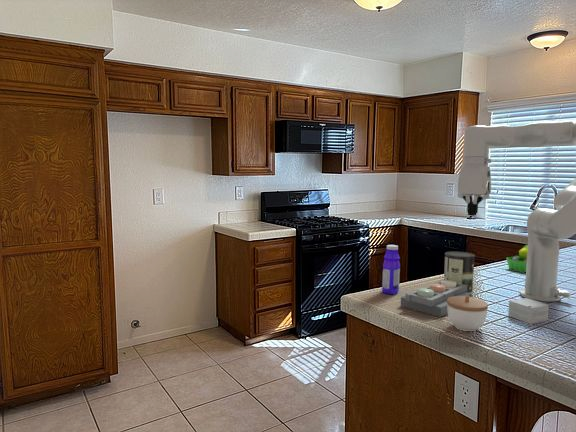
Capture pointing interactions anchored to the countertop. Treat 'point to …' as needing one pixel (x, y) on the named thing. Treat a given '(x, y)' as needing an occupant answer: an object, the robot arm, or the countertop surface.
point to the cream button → (448, 283)
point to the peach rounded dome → (437, 288)
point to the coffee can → (460, 268)
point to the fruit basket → (519, 260)
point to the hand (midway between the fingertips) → (472, 215)
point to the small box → (528, 310)
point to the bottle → (391, 270)
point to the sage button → (425, 292)
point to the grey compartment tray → (433, 299)
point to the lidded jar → (466, 312)
